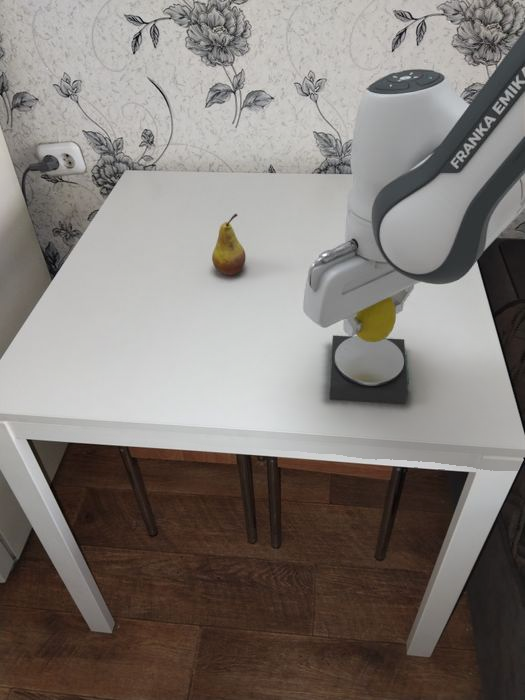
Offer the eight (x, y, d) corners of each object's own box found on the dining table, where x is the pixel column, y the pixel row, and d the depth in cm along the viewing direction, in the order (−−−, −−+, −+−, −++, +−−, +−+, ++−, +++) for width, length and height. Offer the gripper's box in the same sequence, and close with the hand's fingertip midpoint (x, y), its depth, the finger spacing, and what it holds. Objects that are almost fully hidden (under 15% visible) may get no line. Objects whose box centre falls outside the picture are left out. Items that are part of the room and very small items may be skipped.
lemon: (390, 326, 79) (397, 278, 73) (392, 355, 75) (401, 307, 69) (348, 325, 79) (352, 277, 74) (349, 354, 75) (353, 305, 70)
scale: (404, 352, 85) (406, 339, 83) (407, 405, 78) (410, 392, 76) (331, 348, 86) (332, 335, 84) (329, 400, 79) (330, 387, 77)
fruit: (244, 258, 102) (239, 196, 94) (248, 278, 98) (244, 215, 90) (212, 262, 102) (204, 200, 94) (215, 282, 98) (208, 219, 90)
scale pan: (401, 339, 82) (402, 336, 82) (405, 388, 76) (405, 385, 76) (335, 336, 83) (335, 332, 83) (333, 383, 77) (333, 380, 77)
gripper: (328, 274, 59) (323, 369, 69) (471, 210, 67) (448, 304, 76) (292, 245, 63) (291, 339, 73) (431, 188, 71) (414, 280, 80)
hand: (373, 321), depth 75 cm, fingers closed on lemon, 5 cm apart
